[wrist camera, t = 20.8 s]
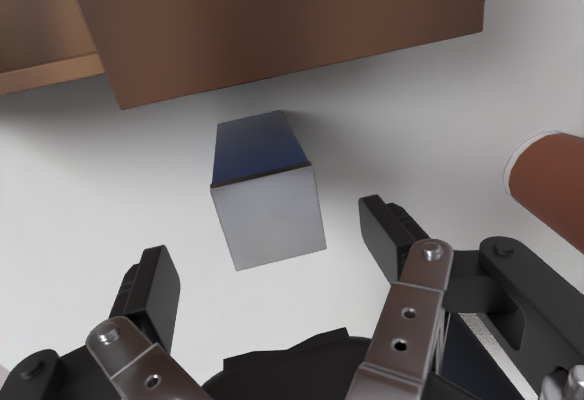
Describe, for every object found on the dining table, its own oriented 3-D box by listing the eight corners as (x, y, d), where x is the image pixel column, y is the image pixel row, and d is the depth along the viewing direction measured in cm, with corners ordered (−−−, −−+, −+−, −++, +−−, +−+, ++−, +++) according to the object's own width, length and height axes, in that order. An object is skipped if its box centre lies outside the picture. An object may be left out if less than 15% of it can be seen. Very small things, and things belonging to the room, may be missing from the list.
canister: (216, 123, 24) (209, 189, 15) (281, 109, 24) (313, 165, 15) (233, 182, 26) (236, 271, 17) (292, 168, 27) (326, 249, 17)
